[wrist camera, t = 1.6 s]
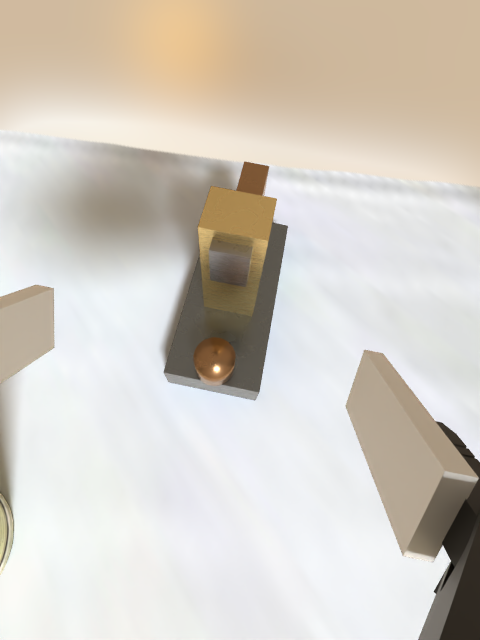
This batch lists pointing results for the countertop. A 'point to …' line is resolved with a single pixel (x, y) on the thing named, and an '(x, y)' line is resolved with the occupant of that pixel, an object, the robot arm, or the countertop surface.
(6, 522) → the coffee can
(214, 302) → the lever cap
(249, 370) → the hand plane
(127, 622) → the countertop surface
